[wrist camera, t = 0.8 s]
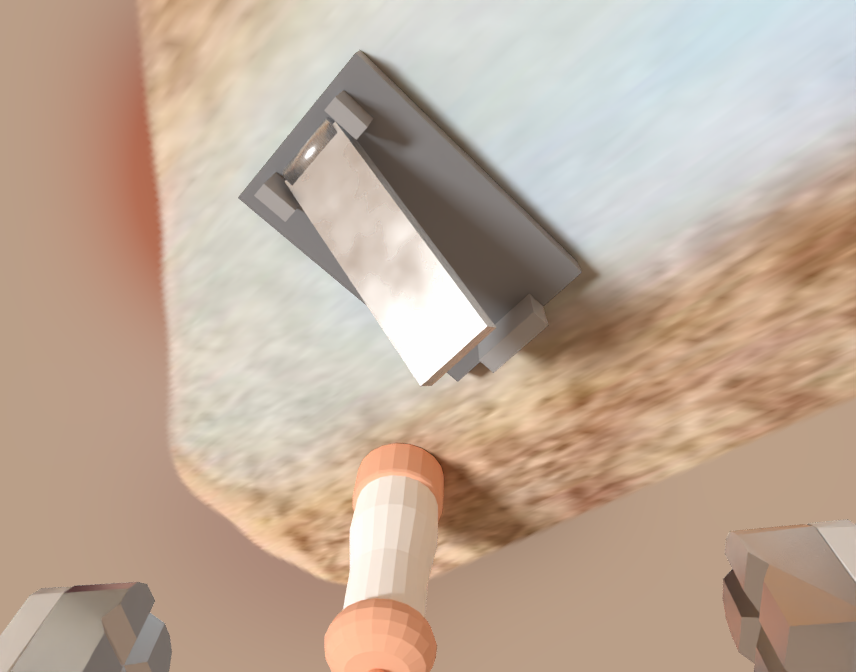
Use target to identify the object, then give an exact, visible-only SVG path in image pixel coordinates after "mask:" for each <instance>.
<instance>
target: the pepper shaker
mask: <svg viewBox="0 0 856 672" xmlns="http://www.w3.org/2000/svg"><path fill="white" fill-rule="evenodd" d="M443 493H444V475H443V471H442V468H441V465H440V464H439V463H438V462H437V460H436V459H435V458H434V456H432V455H431V454H430V453H428V452H427V451H425V450H424V449H422V448H419V447H416V446H413V445H411V444H400V443H394V444H389V445H383V446H381V447H379V448H377V449H375V450H373V451H371V452H370V453H369V454H368V455H367V456H366V457H365V458H364V459H363V460H362V463H361V465H360V467H359V469H358V474H357V478H356V483H355V488H354V493H353V509H354V515H353V519H352V523H351V527H350V574H349V579H348V585H347V591H346V596H345V602H344V608H343V610H342V611H341V612H340V613H339V614H338V615H337V616H336V617H335V618H334V620H333V621H332V623H331V624H330V626H329V628H328V630H327V633H326V634H325V658H326V660H327V663H328V665H329V667H330V669H331V671H332V672H430V670H431V669H432V666H433V664H434V661H435V658H436V650H437V644H436V641H435V638H434V635H433V632H432V630H431V627H430V625H429V623H428V621H427V620H426V619H425V615H426V600H427V599H426V598H427V584H428V580H429V576H430V572H431V568H432V564H433V560H434V556H435V553H436V549H437V541H438V521H439V519H440V517H441V515H442V510H443Z"/></svg>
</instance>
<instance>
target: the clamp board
mask: <svg viewBox="0 0 856 672" xmlns="http://www.w3.org/2000/svg"><path fill="white" fill-rule="evenodd" d="M327 117H329V118H331V119H333V120H334V121H336V122H337V123H338V124H339V125H341V126H342V127H343V128H344V129H345V130H346V131H347V132H348V133H349V134H350V135H351V136H352V137H354V138H355V139H356V140H357V141H358V142H359V144H360V145H361V146H362V148H363V149H364V150H365V152H366V153H367V154H368V156H369V157H370V159H371V160H372V161H373V163H374V164H375V165H376V167H377V168H378V169H379V171H380V172H381V173H382V175H383V176H384V177H385V179H386V180H387V181H388V183H389V184H390V185H391V187H392V188H393V189H394V191H395V192H396V193H397V195H398V196H399V197H400V199H401V200H402V201H403V203H404V204H405V205H406V207H407V208H408V209H409V211H410V212H411V214H412V215H413V216H414V218H415V219H416V220H417V222H418V223H419V224H420V226H421V227H422V228H423V230H424V231H425V232H426V234H427V235H428V236H429V238H430V239H431V240H432V242H433V243H434V244H435V246H436V247H437V248H438V250H439V251H440V252H441V254H442V255H443V256H444V258H445V259H446V260H447V262H448V263H449V264H450V266H451V267H452V268H453V270H454V271H455V273H456V274H457V275H458V277H459V278H460V279H461V281H462V282H463V283H464V285H465V286H466V287H467V289H468V290H469V291H470V293H471V294H472V295H473V297H474V298H475V299H476V301H477V302H478V303H479V305H480V306H481V307H482V309H483V310H484V311H485V313H486V314H487V315H488V317H489V318H490V319H491V321H492V322H493V323H494V325H495V326H496V329H494V330H493V331H492V332H491V333H490V334H489V335H488V336H487V337H485V338H484V339H483V340H482V341H481V342H480V343H479V344H478V345H477V346H475V347H474V348H473V349H472V350H471V351H470V352H469V353H468V354H467V355H465V356H464V357H463V358H462V359H461V360H460V361H459V362H458V363H456V364H455V365H454V366H453V367H452V368H451V369H450V370H449V371H448V372H447V373H448V374H449V375H450V376H452V377H453V378H454V379H455V380H456V381H459V380H460V379H461V378H462V377H464V376H465V375H466V374H467V373H468V372H469V371H470V370H472V369H473V368H474V367H475V366H476V365H477V364H478V363H480V362H481V363H483V364H484V365H485V366H486V367H487V368H488V369H490V370H491V371H492V372H493V373H494V372H495V371H496V370H497V369H499V368H500V367H501V366H502V365H503V364H504V363H506V362H507V361H508V360H509V359H510V358H511V357H512V356H514V355H515V354H516V353H517V352H518V351H519V350H521V349H522V348H523V347H524V346H525V345H526V344H527V343H529V342H530V341H531V340H532V339H533V338H534V337H536V336H537V335H538V334H539V333H540V332H541V331H543V330H544V329H545V328H546V327H547V326H548V322H547V319H546V315H545V311H544V307H543V306H544V305H545V304H546V303H548V302H549V301H550V300H551V299H552V298H553V297H554V296H556V295H557V294H558V293H559V292H560V291H561V290H562V289H564V288H565V287H566V286H567V285H568V284H569V283H570V282H571V281H573V280H574V279H575V278H576V277H577V276H578V275H579V274H581V273H582V272H581V269H580V267H579V265H578V262H577V261H576V260H575V259H574V258H573V257H572V256H571V255H570V254H569V253H568V252H567V251H566V250H565V249H564V248H563V247H562V246H561V245H560V244H558V243H557V242H556V241H555V240H554V239H553V238H552V237H551V236H550V235H549V234H548V233H547V232H546V231H545V230H544V229H543V228H542V227H541V226H540V225H539V224H538V223H537V222H536V221H535V220H534V219H533V218H532V217H531V216H530V215H529V214H528V213H527V212H526V211H525V210H524V209H523V208H522V207H521V206H520V205H518V204H517V203H516V202H515V201H514V200H513V199H512V198H511V197H510V196H509V195H508V194H507V193H506V192H505V191H504V190H503V189H502V188H501V187H500V186H499V185H498V184H497V183H496V182H495V181H494V180H493V179H492V178H491V177H490V176H489V175H488V174H487V173H486V172H485V171H484V170H483V169H482V168H481V167H480V166H478V165H477V164H476V163H475V162H474V161H473V160H472V159H471V158H470V157H469V156H468V155H467V154H466V153H465V152H464V151H463V150H462V149H461V148H460V147H459V146H458V145H457V144H456V143H455V142H454V141H453V140H452V139H451V138H450V137H449V136H448V135H447V134H446V133H445V132H444V131H443V130H442V129H441V128H440V127H438V126H437V125H436V124H435V123H434V122H433V121H432V120H431V119H430V118H429V117H428V116H427V115H426V114H425V113H424V112H423V111H422V110H421V109H420V108H419V107H418V106H417V105H416V104H415V103H414V102H413V101H412V100H411V99H410V98H409V97H408V96H407V95H406V94H405V93H404V92H403V91H402V90H401V89H400V88H398V87H397V86H396V85H395V84H394V83H393V82H392V81H391V80H390V79H389V78H388V77H387V76H386V75H385V74H384V73H383V72H382V71H381V70H380V69H379V68H378V67H377V66H376V65H375V64H374V63H373V62H372V61H371V60H370V59H369V58H368V57H367V56H366V55H365V54H364V53H363V52H362V51H361V50H360V51H358V52H356V53H355V54H354V55H353V57H352V58H351V59H350V60H349V62H348V63H347V64H346V65H345V67H344V68H343V69H342V70H341V71H340V73H339V74H338V75H337V76H336V78H335V79H334V80H333V81H332V83H331V84H330V85H329V86H328V87H327V89H326V90H325V91H324V92H323V94H322V95H321V96H320V97H319V99H318V100H317V101H316V102H315V103H314V105H313V106H312V107H311V108H310V110H309V111H308V112H307V113H306V115H305V116H304V117H303V118H302V119H301V121H300V122H299V123H298V124H297V126H296V127H295V128H294V129H293V131H292V132H291V133H290V134H289V135H288V137H287V138H286V139H285V140H284V142H283V143H282V144H281V145H280V147H279V148H278V149H277V150H276V151H275V153H274V154H273V155H272V156H271V158H270V159H269V160H268V161H267V163H266V164H265V165H264V166H263V167H262V169H261V170H260V171H259V172H258V174H257V175H256V176H255V177H254V179H253V180H252V181H251V182H250V183H249V185H248V186H247V187H246V188H245V190H244V191H243V192H242V193H241V195H240V196H239V197H238V198H239V199H240V200H241V201H242V202H243V203H245V204H246V205H247V206H248V207H249V208H251V209H252V210H253V211H254V212H255V213H257V214H258V215H259V216H260V217H261V218H263V219H264V220H265V221H266V222H267V223H269V224H270V225H271V226H272V227H273V228H275V229H276V230H277V231H278V232H279V233H281V234H282V235H283V236H284V237H285V238H287V239H288V240H289V241H290V242H291V243H293V244H294V245H295V246H296V247H297V248H299V249H300V250H301V251H302V252H303V253H304V254H306V255H307V256H308V257H309V258H310V259H312V260H313V261H314V262H315V263H316V264H318V265H319V266H320V267H321V268H322V269H324V270H325V271H326V272H327V273H328V274H330V275H331V276H332V277H333V278H334V279H336V280H337V281H338V282H339V283H340V284H342V285H343V286H344V287H345V288H346V289H348V290H349V291H350V292H351V293H352V294H354V295H355V296H356V297H357V298H358V299H360V300H361V301H362V302H363V303H364V304H365V305H366V303H365V302H364V300H363V299H362V297H361V296H360V294H359V293H358V291H357V290H356V288H355V287H354V285H353V284H352V282H351V281H350V279H349V278H348V276H347V275H346V273H345V272H344V270H343V269H342V267H341V266H340V264H339V263H338V261H337V260H336V258H335V257H334V255H333V254H332V252H331V251H330V249H329V248H328V246H327V245H326V243H325V242H324V240H323V239H322V237H321V236H320V234H319V233H318V231H317V230H316V228H315V227H314V225H313V224H312V222H311V221H310V219H309V218H308V216H307V215H306V213H305V212H304V210H303V209H302V207H301V206H300V204H299V203H298V201H297V200H296V198H295V197H294V195H293V194H292V192H291V191H290V189H289V188H288V186H287V185H286V183H285V181H286V179H285V178H284V176H283V174H282V171H283V170H284V169H285V167H286V166H287V165H288V164H289V163H290V161H291V160H292V159H293V158H294V157H295V155H296V154H297V153H298V152H299V150H300V149H301V148H302V147H303V146H304V144H305V143H306V142H307V141H308V140H309V138H310V137H311V136H312V135H313V134H314V132H315V131H316V130H317V129H318V128H319V126H320V125H321V124H322V123H323V122H324V120H325V119H326V118H327Z"/></svg>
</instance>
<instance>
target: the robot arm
mask: <svg viewBox="0 0 856 672" xmlns="http://www.w3.org/2000/svg"><path fill="white" fill-rule="evenodd" d="M725 555H726V557H727V559H728V561H729V563H730V565H731V567H732V570H731V571H730V572H729V573H728V574H727V575H726V576H725V578H724V579H723V603H724V609H725V615H726V620H727V623H728V626H729V629H730V632H731V635H732V637H733V640H734V642H735V644H736V647H737V649H738V651H739V653H741V654H742V655H743V656H745V657H746V658H748V659H749V660H750V661H752V662H753V663H754V664H755V666H754V672H856V524H855V523H853V522H851V521H850V520H838V521H828V522H818V523H808V524H807V525H805V524H800V525H790V526H779V527H769V528H758V529H747V530H737V531H730V532H729V534H728V536H727V538H726V548H725ZM154 602H155V600H154V597H153V596H152V594H151V592H150V589H149V587H148V585H147V584H144V583H140V582H129V583H112V584H95V585H78V586H73V587H58V588H41V589H40V590H38V591H36V592H35V593H33V594H31V595H30V596H29V597H28V599H27V600H26V601H25V603H24V604H23V606H22V607H21V608H20V610H19V611H18V612H17V614H16V615H15V616H14V618H13V619H12V620H11V622H10V623H9V625H8V626H7V627H6V629H5V630H4V632H3V633H2V634H1V636H0V672H169V669H170V661H171V654H172V649H171V643H170V635H169V633H168V631H167V628H166V625H165V624H164V623H163V622H162V621H161V620H159V619H158V618H156V617H155V616H154V615H152V614H151V613H150V611H151V609H152V606H153V604H154Z"/></svg>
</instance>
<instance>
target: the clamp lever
mask: <svg viewBox="0 0 856 672" xmlns="http://www.w3.org/2000/svg"><path fill="white" fill-rule="evenodd" d="M282 174H283V176H284V178H285V179H286V181H285V183H286V185H287V186H288V188H289V189H290V191H291V192H292V194H293V195H294V197H295V198H296V200H297V201H298V203H299V204H300V206H301V207H302V209H303V210H304V212H305V213H306V215H307V216H308V218H309V219H310V221H311V222H312V224H313V225H314V227H315V228H316V230H317V231H318V233H319V234H320V236H321V237H322V239H323V240H324V242H325V243H326V245H327V246H328V248H329V249H330V251H331V252H332V254H333V255H334V257H335V258H336V260H337V261H338V263H339V264H340V266H341V267H342V269H343V270H344V272H345V273H346V275H347V276H348V278H349V279H350V281H351V282H352V284H353V285H354V287H355V288H356V290H357V291H358V293H359V294H360V296H361V297H362V299H363V300H364V302H365V303H366V305H367V306H368V308H369V309H370V311H371V312H372V314H373V315H374V317H375V318H376V320H377V321H378V323H379V324H380V326H381V327H382V329H383V330H384V332H385V333H386V335H387V336H388V338H389V339H390V341H391V342H392V344H393V345H394V347H395V348H396V350H397V351H398V353H399V354H400V356H401V357H402V359H403V360H404V362H405V363H406V365H407V366H408V368H409V369H410V371H411V372H412V374H413V375H414V377H415V378H416V380H417V381H418V383H419V384H420V386H432V385H433V384H434V383H435V382H436V381H438V380H439V379H440V378H441V377H442V376H443V375H444V374H445V373H446V372H448V371H449V370H450V369H451V368H452V367H453V366H454V365H455V364H456V363H458V362H459V361H460V360H461V359H462V358H463V357H464V356H465V355H467V354H468V353H469V352H470V351H471V350H472V349H473V348H474V347H475V346H477V345H478V344H479V343H480V342H481V341H482V340H483V339H484V338H485V337H487V336H488V335H489V334H490V333H491V332H492V331H493V330H494V329H496V326H495V325H494V323H493V322H492V321H491V319H490V318H489V317H488V315H487V314H486V313H485V311H484V310H483V309H482V307H481V306H480V305H479V303H478V302H477V301H476V299H475V298H474V297H473V295H472V294H471V293H470V291H469V290H468V289H467V287H466V286H465V285H464V283H463V282H462V281H461V279H460V278H459V277H458V275H457V274H456V273H455V271H454V270H453V268H452V267H451V266H450V264H449V263H448V262H447V260H446V259H445V258H444V256H443V255H442V254H441V252H440V251H439V250H438V248H437V247H436V246H435V244H434V243H433V242H432V240H431V239H430V238H429V236H428V235H427V234H426V232H425V231H424V230H423V228H422V227H421V226H420V224H419V223H418V222H417V220H416V219H415V218H414V216H413V215H412V214H411V212H410V211H409V209H408V208H407V207H406V205H405V204H404V203H403V201H402V200H401V199H400V197H399V196H398V195H397V193H396V192H395V191H394V189H393V188H392V187H391V185H390V184H389V183H388V181H387V180H386V179H385V177H384V176H383V175H382V173H381V172H380V171H379V169H378V168H377V167H376V165H375V164H374V163H373V161H372V160H371V159H370V157H369V156H368V154H367V153H366V152H365V150H364V149H363V148H362V146H361V145H360V144H359V142H358V141H357V140H356V139H355V138H354V137H352V136H351V135H350V134H349V133H348V132H347V131H346V130H345V129H344V128H343V127H342V126H341V125H339V124H338V123H337V122H336V121H334V120H333V119H331V118H329V117H327V118H326V119H325V120H324V122H323V123H322V124H321V125H320V126H319V128H318V129H317V130H316V131H315V132H314V134H313V135H312V136H311V137H310V138H309V140H308V141H307V142H306V143H305V144H304V146H303V147H302V148H301V149H300V150H299V152H298V153H297V154H296V155H295V157H294V158H293V159H292V160H291V161H290V163H289V164H288V165H287V166H286V167H285V169H284V170H283V171H282Z"/></svg>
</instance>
